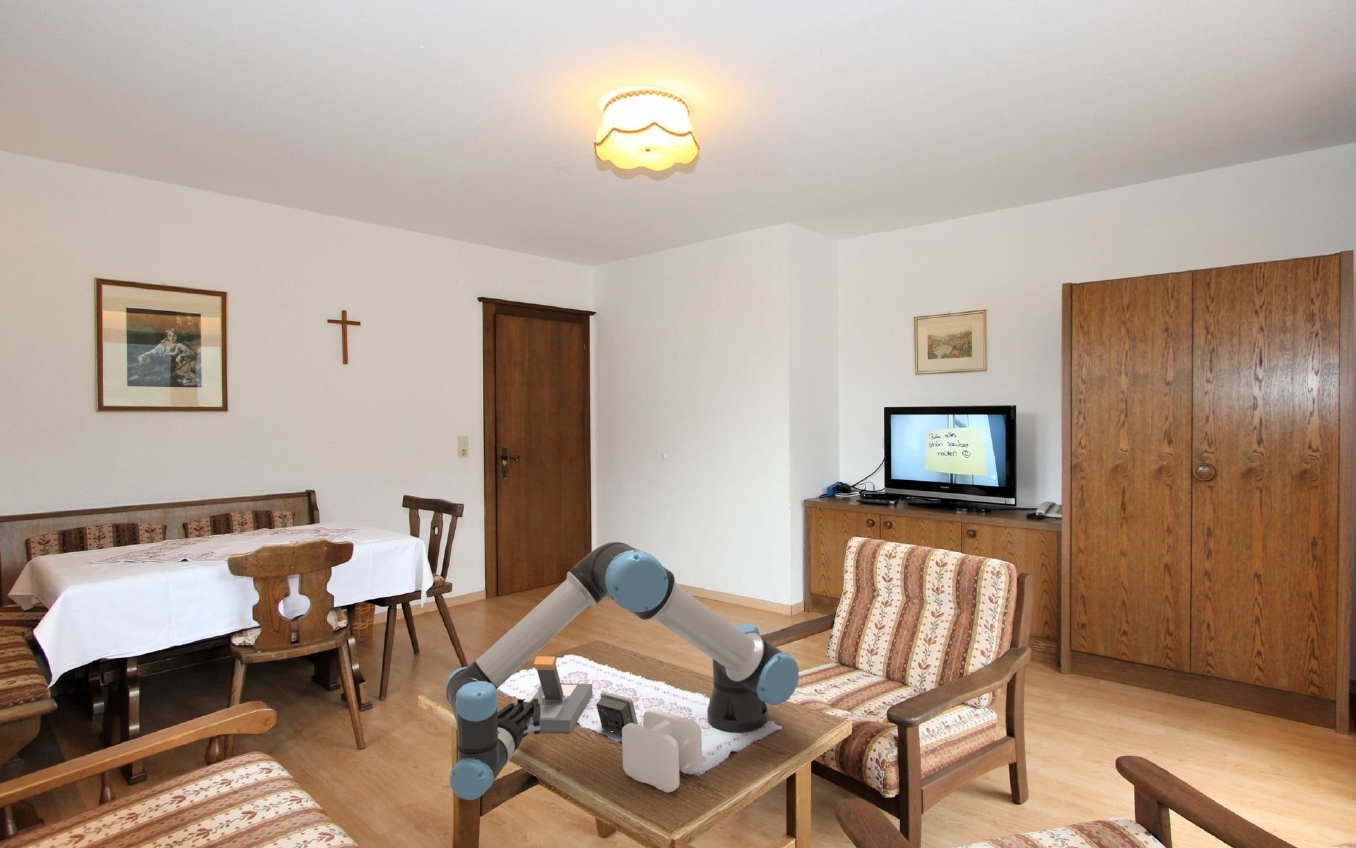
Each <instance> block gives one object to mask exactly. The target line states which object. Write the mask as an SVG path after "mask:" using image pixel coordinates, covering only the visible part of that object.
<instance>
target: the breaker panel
mask: <svg viewBox="0 0 1356 848" xmlns="http://www.w3.org/2000/svg"><path fill="white" fill-rule="evenodd" d="M560 683H561V686H562V690H563V694H564V695H563V698H562V700H545V697H544V693H543V690H542V686H541V685H540V686H539V687H538V688H537V690H539V702H538V704H540V710H541V716H540V733H564V734H567V733H568V734H569V733H572V730H573V729H574V727H575V726H576V724H577V722H578V720H579V718H580V717H581V715H582V714H583V712H584V710H585V709H586V707H587V706H588V704H589V702H590V700H591V698H592V696H593V694H594V693H593V683H567V682H566V683H565V682H564V683H563V682H560ZM581 713H582V714H581ZM531 721H532V717H531V719H530V720H529V721H528V723H527V724H526V725H527V726H529V724H531Z"/></svg>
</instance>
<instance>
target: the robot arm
mask: <svg viewBox="0 0 1356 848" xmlns="http://www.w3.org/2000/svg"><path fill="white" fill-rule="evenodd" d="M606 597H608V598H609V599H611V600H612V601H613V602H615V604H617V605H618V606H619V607H621V608H622V609H625V610H626V611H628V612H629V613H632V614H633V615H635V616H636V617H637V618H639V619H641V620H642V621H649V620H653V619H654V620H655V621H656V622H658V623H659V624H661V625H662V626H664V627H665V628H667V629H669V630H670V631H672V633H674V634H676V635H677V636H678V637H681V639H683V640H685V641H686V642H687V643H689V644H690V645H692V646H693V647H695V648H696V649H698V650H699V651H701V652H702V653H704V654H705V655H707V656H708V657H709V658H712V677H713V679H712V680H713V689H712V691H711V696H710V699H709V703H708V706H707V711H706V713H707V714H706V715H707V716H706V717H707V721H708V723H709V724H710V725H711V726H713V727H714V728H716V729H719V730H721V731H726V732H731V733H746V732H752V731H755V730H759V729H760V728H763V727H764V726H765V725H767V723H768V721H769V710H768V709H769V708H768V705H770V706H777V705H781V704H782V703H784V702H786V701H788V700H789V699H790V697H792V696H793V694H794V692H795V691H796V689H797V687H798V684H799V679H800V674H799V672H800V668H799V665H798V663H797V661H796V659H795V658H794V657H792V656H791V654H789V653H788V652H784V651H782V650H781V649H779V648H778V647H776V646H775V645H773V644H772V643H770V642H769V641H768V640H767V639H765V638H764V637H762V636H760V635H761V634H760V631H759V627H758V626H756V625H754V624H751V623H750V624H749V623H748V624H747V623H735V624H732V623H731V622H729V621H728V620H727V619H725V618H724V617H723V616H721V615H719V614H718V613H717V612H716V611H714V610H712V609H711V608H710V607H708V606H707V605H705V604H704V603H703V602H702V601H700V600H699V599H697V598H695V597H694V596H693V595H692V594H690V593H689V592H687V591H686V590H684V589H683V588H681V587H680V586H679V585H677V583H676V576H675V574H674V573H673V572H672V571H670V570H669V569H667V568H666V567H665V566H663V564H662V563H661V562H660V561H659V559H658V558H657V557H655V556H653V555H652V554H650V553H648V552H645V551H643V550H639V549H637V548H635V547H633V546H631V545H629V544H627V543H624V542H619V541H613V542H612V541H611V542H607V543H605V544H602V545H600V546H598V547H597V548H595V549H593V550H592V551H591V552H589V553H588V554H587V555H585V557H583V558H582V559H581V560H580V561H579V562H577V563H576V564H575V565H574V566H573V567H571V568H570V569H569V570H568V572H567V573H566V579H565V580H564V581H563V582H561V584H560V585H558V587H556V588H555V589H554V590H553V591H552V592H551V593H550V594H548V595H547V596H545V598H544V599H543V600H542V601H541V602H539V603H538V604H537V605H536V606H535V607H534V608H533V609H532V610H531V611H529V612H528V613H527V614H526V615H525V616H524V617H523V618H522V619H520V621H518V622H517V623H516V624H515V625H514V626H513V627H511V628H510V629H509V630H508V631H507V632H506V633H505V634H504V635H502V636H501V637H500V638H499V639H498V640H497V641H496V642H495V643H494V644H492V646H490V647H489V648H488V649H487V650H486V651H485V652H484V653H483V654H482V655H480V656H479V657H478V658H477V659H475V661H473V663H471V664H470V665H469V666H463V667H459V668H457V669H455V670H454V671H452V672H451V673H450V675H449V676H448V678H447V679H446V683H445V696H446V700H447V702H448V705H449V706H450V708H451V711H452V714H453V716H454V719H455V722H456V733H457V762H455V765H453V767H452V770H451V772H450V774H449V785H450V788H451V790H452V792H453V793H454V794H455V795H456V796H457V797H459V798H460V799H462V800H467V801H473V800H476V799H479V798H480V797H482V796H483V795H484V794H485V793H486V792H487V790H488V789H490V788H491V787H492V786H493V783H494V782H495V780H496V779H497V777H498V776H499V774H500V773H501V772H502V770H503V769H504V767H505V766H506V765H507V763H508V762H509V761H510V759H511V758H512V757H513V755H514V754H515V752H516V751H517V750H518V748H519V746H520V745H521V742H522V741H523V739H524V738H525V737H527V736H528V734H529V733H534V735H539V734H540V733H541V732H540V716H541V710H540V704H538V702H539V690H538V689H533V690H531V691H530V692H529V694H528V695H527V697H526V698H519V699H517V700H516V701H517V702H516V704H515V703H514V702H513V703H512V702H511V703H509V704H507V705H506V706H505V707H502V709H500V710H499V711H498V705H499V700H498V695H497V690H499V687H501V686H502V685H503V684H504V683H505V682H507V680H508V679H510V678H511V677H512V676H513V675H514V674H515V673H516V672H517V671H519V669H521V668H522V667H523V665H525V664H526V663H527V662H528V661H530V659H531V658H533V657H534V656H536V655H535V654H537V653H538V652H539V651H540V650H541V649H542V648H544V647H545V646H546V645H547V644H548V643H550V642H551V640H552V639H553V638H555V636H557V635H558V634H559V633H560V632H561V631H562V630H563V629H565V628H566V627H567V626H568V625H569V624H570V623H571V622H572V621H573V620H574V619H575V618H576V617H577V616H578V615H580V614H581V613H582V612H583V611H584V610H585V609H586V608H587V607H588V606H596V605H597V604H599V603H600V601H602V600H603V599H604V598H606ZM767 704H768V705H767ZM531 717H532V721H531V724H529V726H527V725H526V724H527V723H528V721H529V720H530V719H531Z"/></svg>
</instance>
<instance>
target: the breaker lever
mask: <svg viewBox="0 0 1356 848" xmlns="http://www.w3.org/2000/svg"><path fill="white" fill-rule="evenodd" d="M535 656H536V657H535V659H534V663H533V667H534V670H536V671H537V675H538V676H537V677H538V679H539V682H540V686H542V690H543V693H544V697H545V700H562V698H563V695H564V694H563V690H562V686H561V683H562V682H561V680H560V676H559V672H558V668H557V659H556V656H538V655H535Z"/></svg>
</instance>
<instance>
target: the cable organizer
mask: <svg viewBox="0 0 1356 848" xmlns="http://www.w3.org/2000/svg"><path fill="white" fill-rule="evenodd" d="M642 724H643V725H640V724H638V725H637V724H634V723H629V724H627V725H625V726H624V727H623V728H622V730H621V731H622V735H621V746H622V768H623V771H624V773H626V775H627V776H628V777H630V778H632V780H634V781H637V782H639V783H642V784H648V785H650V786H652V787H655V788H656V789H657V790H660V791H662V792H664V793H666V794H667V793H668V794H670V793H671V792H675V790H676V789H677V790H678V788H679V787H680V772H681V773H683V774H684V775H686V774H687V775H695V774H697V773H698V772H699V771H701V770H702V768H703V744H702V743H703V741H702V739H703V737H702V728H701V726H700V725H699V724H698V722H696V721H694V720H692V719H689V718H687V717H682V716H680V715H676V714H673V713H671V712H666V711H663V710H661V709H658V708H650V709H648V710H646V711H645V712H644V713H643V715H642Z"/></svg>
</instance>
